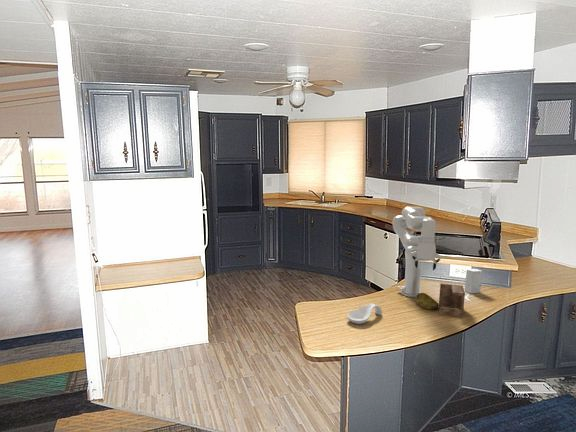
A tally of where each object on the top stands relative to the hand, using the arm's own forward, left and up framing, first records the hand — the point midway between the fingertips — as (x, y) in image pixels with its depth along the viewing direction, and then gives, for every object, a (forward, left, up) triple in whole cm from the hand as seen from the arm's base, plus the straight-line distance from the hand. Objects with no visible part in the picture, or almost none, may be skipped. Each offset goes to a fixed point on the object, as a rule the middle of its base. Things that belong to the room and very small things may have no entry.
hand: (425, 268), depth 247 cm
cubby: (+15, -4, -22) cm, 27 cm away
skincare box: (+31, +37, -23) cm, 54 cm away
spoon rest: (-30, -33, -23) cm, 50 cm away
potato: (+2, -4, -23) cm, 23 cm away
